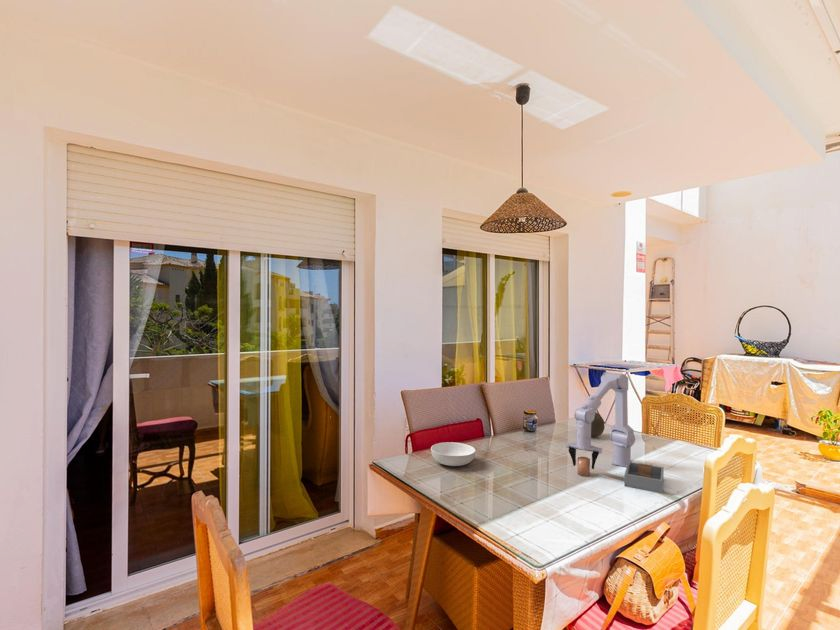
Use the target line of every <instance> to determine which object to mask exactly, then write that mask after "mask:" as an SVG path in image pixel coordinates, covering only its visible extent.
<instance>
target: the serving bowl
mask: <svg viewBox="0 0 840 630" xmlns="http://www.w3.org/2000/svg"><path fill="white" fill-rule="evenodd" d="M430 452H431V455H432V457H433V459H434V460H435V461H436V462H437V463H439V464H442V465H445V466H448V467H461V466H465V465H468V464H469V463H471V462H472V461H473V460H474V458H475V456H476V452H477V451H476V449H475V447H474V446H472V445H470V444H466V443H463V442H453V441H451V442H449V441H448V442H447V441H446V442H439V443H435V444H433V445H431V447H430Z"/></svg>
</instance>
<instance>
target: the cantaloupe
mask: <svg viewBox="0 0 840 630" xmlns="http://www.w3.org/2000/svg"><path fill="white" fill-rule="evenodd" d="M595 413H596V414H595V418H594V420H593V422H591V438H598V437H600V436H601V435H602V434H603V433H604V431H605V420H604V418H603V417H602V416H601V414H599V412H597V411H596V412H595Z"/></svg>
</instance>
